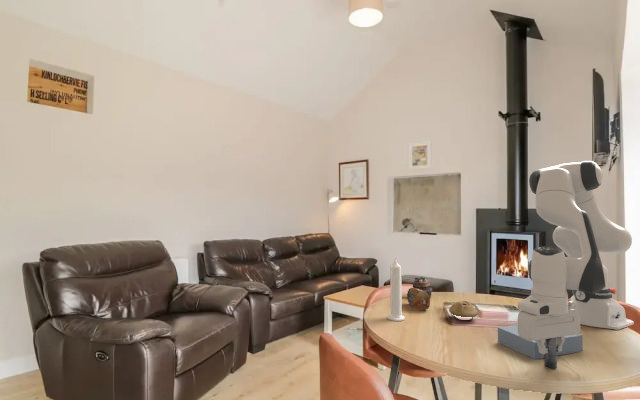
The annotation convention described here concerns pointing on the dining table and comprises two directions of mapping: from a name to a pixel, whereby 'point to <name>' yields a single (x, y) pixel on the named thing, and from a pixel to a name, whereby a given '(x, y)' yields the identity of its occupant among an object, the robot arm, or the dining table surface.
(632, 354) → the dining table surface
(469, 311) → the oil lamp
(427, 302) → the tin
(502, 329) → the hole block
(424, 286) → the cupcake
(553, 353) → the peg
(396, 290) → the candle
